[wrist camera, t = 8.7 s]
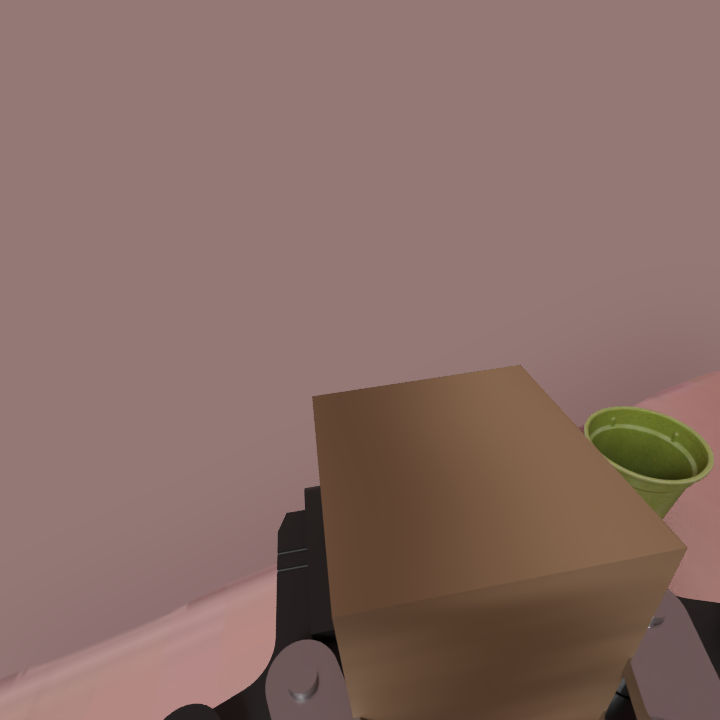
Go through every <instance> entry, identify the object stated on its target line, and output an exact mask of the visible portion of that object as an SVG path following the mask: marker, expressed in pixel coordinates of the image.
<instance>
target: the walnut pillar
mask: <svg viewBox="0 0 720 720" xmlns="http://www.w3.org/2000/svg"><path fill="white" fill-rule="evenodd" d="M312 398H313V410H314V421H315V432H316V443H317V453H318V466H319V477H320V488H321V500H322V511H323V522H324V533H325V545H326V556H327V567H328V578H329V589H330V601H331V612H332V620H333V625H334V629H335V634H336V639H337V644H338V649H339V653H340V658H341V663H342V668H343V672H344V677H345V682H346V687H347V691H348V696H349V701H350V706H351V710H352V715H353V718H355V717H360V719H361V720H599V718H600V716H601V714H602V712H603V711H606V710H607V709H608V707H609V705H610V703H611V701H612V699H613V697H614V695H615V693H616V691H617V689H618V687H619V685H620V683H621V681H622V679H623V677H624V676H623V673H622V671H623V669H624V667H625V665H626V663H627V661H628V659H629V658H632V657H633V656H634V654H635V652H636V650H637V648H638V646H639V644H640V642H641V640H642V638H643V636H644V634H645V632H646V630H647V628H648V626H649V624H650V622H651V620H652V618H653V616H654V614H655V612H656V610H657V608H658V606H659V604H660V602H661V600H662V598H663V596H664V594H665V592H666V590H667V588H668V586H669V584H670V582H671V580H672V578H673V576H674V574H675V572H676V570H677V568H678V566H679V564H680V562H681V560H682V558H683V556H684V554H685V552H686V550H687V547H686V546H685V544H684V543H683V542H682V541H681V540H680V539H679V538H678V537H677V536H676V535H675V533H674V532H673V531H672V530H671V529H670V528H669V527H668V526H667V525H666V524H665V523H664V521H663V520H662V519H661V518H660V517H659V516H658V515H657V514H656V513H655V512H654V510H653V509H652V508H651V507H650V506H649V505H648V504H647V503H646V502H645V501H644V500H643V498H642V497H641V496H640V495H639V494H638V493H637V492H636V491H635V490H634V489H633V487H632V486H631V485H630V484H629V483H628V482H627V481H626V480H625V479H624V478H623V477H622V475H621V474H620V473H619V472H618V471H617V470H616V469H615V468H614V467H613V466H612V465H611V463H610V462H609V461H608V460H607V459H606V458H605V457H604V456H603V455H602V454H601V452H600V451H599V450H598V449H597V448H596V447H595V446H594V445H593V444H592V443H591V442H590V440H589V439H588V438H587V437H586V436H585V435H584V434H583V433H582V432H581V431H580V429H579V428H578V427H577V426H576V425H575V424H574V423H573V422H572V421H571V420H570V419H569V417H568V416H567V415H566V414H565V413H564V412H563V411H562V410H561V409H560V408H559V407H558V405H557V404H556V403H555V402H554V401H553V400H552V399H551V398H550V397H549V396H548V395H547V394H546V392H545V391H544V390H543V389H542V388H541V387H540V386H539V385H538V384H537V382H536V381H535V380H534V379H533V378H532V377H531V376H530V375H529V374H528V373H527V372H526V370H525V369H524V368H523V367H522V366H521V365H516V366H510V367H503V368H497V369H490V370H484V371H477V372H470V373H464V374H458V375H451V376H444V377H438V378H431V379H424V380H418V381H411V382H405V383H398V384H391V385H385V386H378V387H372V388H365V389H358V390H352V391H345V392H339V393H332V394H325V395H319V396H313V397H312Z"/></svg>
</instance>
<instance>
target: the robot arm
mask: <svg viewBox="0 0 720 720" xmlns="http://www.w3.org/2000/svg"><path fill="white" fill-rule="evenodd" d="M277 559H278V560H277V570H278V573H277V607H276V641H275V648H274V652H273V654H272V657H271V660H270V662H269V664H268V665H267V667H266V669H265V670H264V672H263V673H262V674H261V675H260V677H259V678H258V679H257V680H256V681H255V682H254V683H253V684H251V685H250V686H249V687H247V688H246V689H245V690H243V691H241V692H240V693H238V694H236V695H235V696H233V697H231V698H230V699H228V700H227V701H225V702H223V703H222V704H220V705H218V706H217V707H215V708H213V709H212V708H210V707H208V706H207V705H203V704H190V705H186V706H183V707H181V708H179V709H177V710H175V711H173V712H172V713H171V714H170V715H168V716H167V717H166V718H165V719H164V720H361V719H360V717H355V718H353V715H352V710H351V706H350V701H349V696H348V691H347V687H346V682H345V677H344V672H343V668H342V663H341V658H340V653H339V649H338V644H337V639H336V634H335V629H334V625H333V620H332V612H331V601H330V589H329V578H328V567H327V556H326V545H325V533H324V522H323V511H322V500H321V488H320V486H315V487H310V488H305V510H302V511H297V512H290V513H287V514H286V516H285V518H284V520H283V522H282V524H281V527H280V529H279V531H278V558H277ZM622 673H623V676H624V677H623V679H622V681H621V683H620V685H619V687H618V689H617V691H616V693H615V695H614V697H613V699H612V701H611V703H610V705H609V707H608V709H607V710H606V711H603V712H602V714H601V716H600V718H599V720H720V603H715V602H708V601H701V600H693V599H687V598H682V597H678V596H675V595H674V594H673V593H672V592H671V591H670V590H669V589H667V590H666V592H665V594H664V596H663V598H662V600H661V602H660V604H659V606H658V608H657V610H656V612H655V614H654V616H653V618H652V620H651V622H650V624H649V626H648V628H647V630H646V632H645V634H644V636H643V638H642V640H641V642H640V644H639V646H638V648H637V650H636V652H635V654H634V656H633V657H632V658H629V659H628V661H627V663H626V665H625V667H624V669H623V671H622Z"/></svg>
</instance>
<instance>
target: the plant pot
mask: <svg viewBox="0 0 720 720" xmlns="http://www.w3.org/2000/svg"><path fill="white" fill-rule="evenodd" d="M584 435H585V436H586V437H587V438H588V439H589V440H590V442H591V443H592V444H593V445H594V446H595V447H596V448H597V449H598V450H599V451H600V452H601V454H602V455H603V456H604V457H605V458H606V459H607V460H608V461H609V462H610V463H611V465H612V466H613V467H614V468H615V469H616V470H617V471H618V472H619V473H620V474H621V475H622V477H623V478H624V479H625V480H626V481H627V482H628V483H629V484H630V485H631V486H632V487H633V489H634V490H635V491H636V492H637V493H638V494H639V495H640V496H641V497H642V498H643V500H644V501H645V502H646V503H647V504H648V505H649V506H650V507H651V508H652V509H653V510H654V512H655V513H656V514H657V515H658V516H659V517H660V518H661V519H663V518H664V517H665V515H666V514H667V512H668V511H669V510H670V508H671V507H672V506H673V505H674V503H675V502H676V501H677V499H678V498H679V497H680V496H681V494H682V493H683V492H684V491H685V489H686V488H688V487H690V486H691V485H692V484H694V483H695V482H698V481H700V480H701V479H703V478H704V477H706V476H707V475H708V474H709V472H710V471H711V469H712V467H713V465H714V457H713V452H712V450H711V448H710V446H709V445H708V443H707V442H706V441H705V440H704V439H703V438H702V437H701V436H700V435H699V434H698V433H697V432H696V431H695V430H693V429H692V428H690V427H689V426H687V425H686V424H684V423H682V422H681V421H679V420H677V419H675V418H672V417H670V416H667V415H665V414H662V413H659V412H656V411H652V410H648V409H643V408H637V407H621V406H619V407H610V408H604V409H602V410H599V411H597V412H595V413H593V414H592V415H591V416H590V417H589V418H588V419H587V421H586V423H585V426H584Z"/></svg>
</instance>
